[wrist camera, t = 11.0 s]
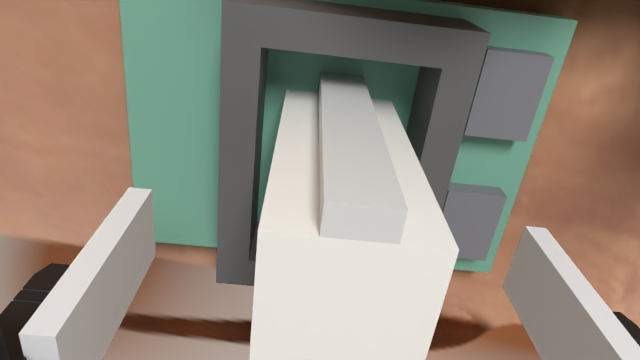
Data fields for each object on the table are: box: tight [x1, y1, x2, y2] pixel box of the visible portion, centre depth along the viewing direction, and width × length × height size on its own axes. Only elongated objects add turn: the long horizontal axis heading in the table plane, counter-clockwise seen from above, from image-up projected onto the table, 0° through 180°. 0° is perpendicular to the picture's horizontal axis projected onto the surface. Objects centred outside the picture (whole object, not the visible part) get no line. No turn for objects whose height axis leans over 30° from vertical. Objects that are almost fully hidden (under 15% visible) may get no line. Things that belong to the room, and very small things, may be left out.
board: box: [119, 0, 578, 286], centre depth 22 cm, size 20×14×5 cm
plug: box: [249, 72, 459, 360], centre depth 18 cm, size 5×7×12 cm
